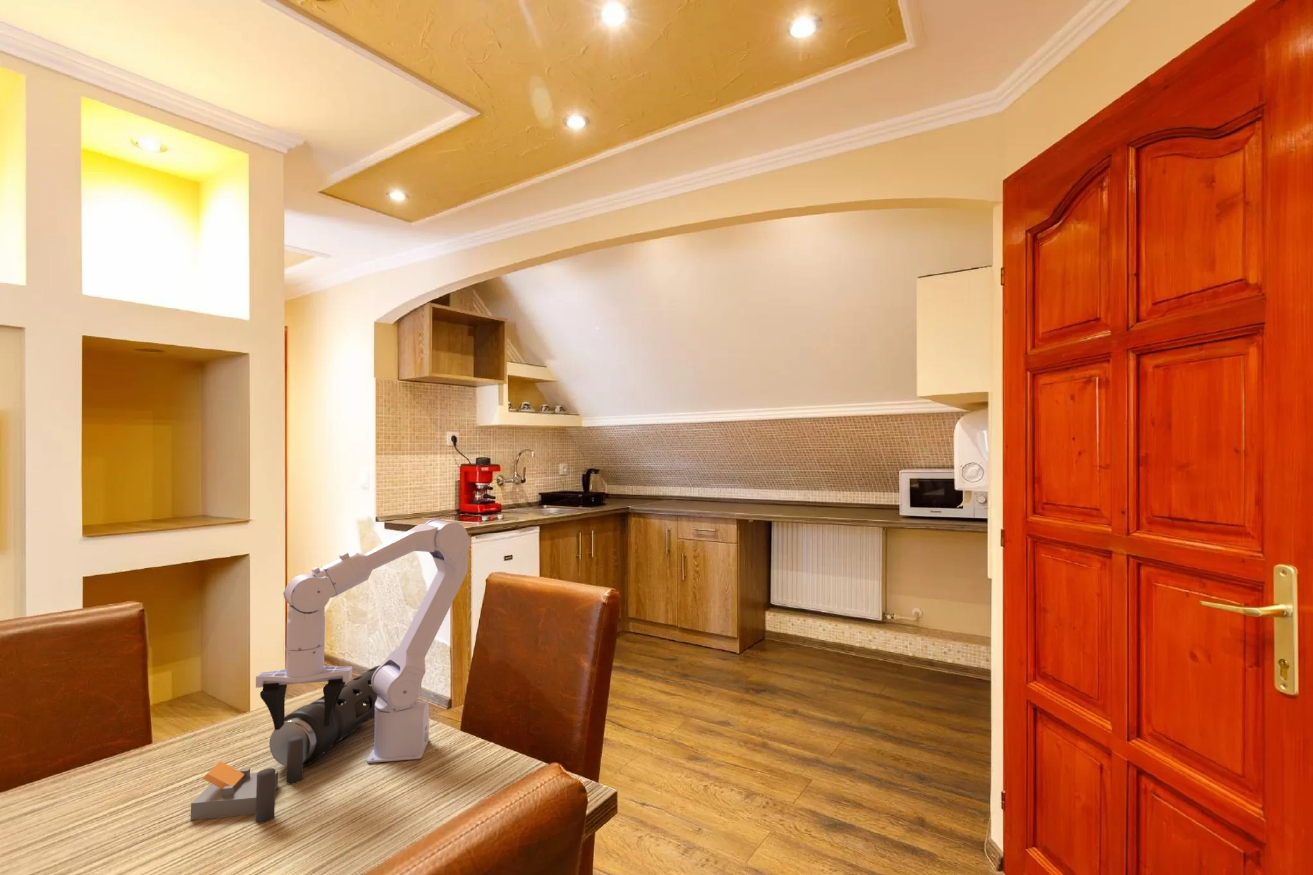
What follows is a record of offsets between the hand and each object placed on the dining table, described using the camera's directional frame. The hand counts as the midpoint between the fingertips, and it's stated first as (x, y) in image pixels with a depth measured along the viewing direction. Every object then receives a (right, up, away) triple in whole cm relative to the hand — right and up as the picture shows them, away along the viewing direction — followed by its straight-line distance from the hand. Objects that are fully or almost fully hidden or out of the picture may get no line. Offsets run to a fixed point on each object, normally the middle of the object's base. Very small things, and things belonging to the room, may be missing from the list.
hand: (304, 725), depth 103 cm
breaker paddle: (-7, -6, -7) cm, 11 cm away
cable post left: (0, -9, -11) cm, 14 cm away
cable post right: (-2, -9, 0) cm, 10 cm away
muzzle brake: (-8, -6, +17) cm, 20 cm away
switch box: (-7, -9, -7) cm, 13 cm away
